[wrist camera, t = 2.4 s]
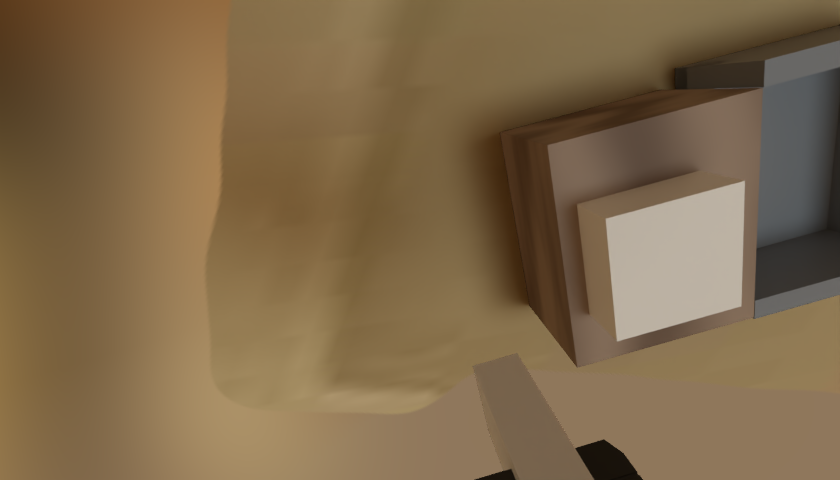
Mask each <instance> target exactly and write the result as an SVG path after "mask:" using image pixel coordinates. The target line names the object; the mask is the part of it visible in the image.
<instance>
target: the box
mask: <svg viewBox="0 0 840 480" xmlns="http://www.w3.org/2000/svg"><path fill="white" fill-rule="evenodd" d="M675 84H676V90H686V89H733V88H763V97H762V122H761V147H760V172H759V197H758V222H757V247H756V273H755V298H754V317H753V318H754V319H756V318H759V317H763V316H766V315H770V314H773V313H777V312H780V311H784V310H787V309H791V308H794V307H798V306H801V305H805V304H808V303H812V302H815V301H819V300H822V299H826V298H830V297H833V296H837V295H840V25H838V26H834V27H830V28H827V29H823V30H819V31H815V32H811V33H808V34H804V35H800V36H796V37H792V38H789V39H785V40H781V41H777V42H773V43H770V44H766V45H762V46H758V47H754V48H751V49H747V50H743V51H739V52H735V53H732V54H728V55H724V56H720V57H716V58H713V59H709V60H705V61H701V62H697V63H694V64H690V65H686V66H682V67H678V68H675Z"/></svg>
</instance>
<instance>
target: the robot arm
mask: <svg viewBox="0 0 840 480" xmlns="http://www.w3.org/2000/svg"><path fill="white" fill-rule="evenodd" d="M473 369H474V373H475V377H476V381H477V386H478V390H479V394H480V398H481V401H482V406H483V411H484V415H485V419H486V423H487V427H488V431H489V434H490V436H491V439H492V442H493V444H494V447H495V450H496V452H497V455H498V457H499V460H500V463H501V465H502V468H503V471H502V472H499V473H495V474H492V475H489V476H485V477H482V478H479V479H476V480H643V479H642V478H641V477H640V476H639V475H638V474H637V471H636V470H635V468H634V467H633V466H632V464H631V463H630V462H629V460H628V459H627V458H626V456H625V455H624V453H622V452H621V451H620V450H618V449H617V448H615V447H614V446H613V445H611V444H610V443H608V442H607V441H605V440H601V441H597V442H594V443H591V444H587V445H584V446H581V447H577V448H574V446H573V444H572V443H571V441H570V439H569V438H568V436H567V434H566V433H565V431H564V429H563V428H562V426H561V424H560V423H559V421H558V419H557V418H556V416H555V415H554V413H553V411H552V410H551V408H550V406H549V405H548V403H547V401H546V400H545V398H544V396H543V395H542V394H541V391H540V390H539V388H538V387H537V385H536V383H535V382H534V380H533V378H532V377H531V375H530V373H529V372H528V370H527V368H526V367H525V365H524V364H523V362H522V360H521V359H520V357H519V355H518V354H517V353H516V354H513V355H509V356H506V357H502V358H499V359H495V360H492V361H488V362H485V363H481V364H478V365H475V366H473Z"/></svg>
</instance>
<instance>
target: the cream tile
mask: <svg viewBox="0 0 840 480" xmlns="http://www.w3.org/2000/svg"><path fill="white" fill-rule="evenodd" d="M744 197H745V181H744V180H739V179H735V178H730V177H726V176H721V175H717V174H713V173H708V172H704V171H696V172H693V173H689V174H685V175H682V176H678V177H674V178H671V179H667V180H663V181H660V182H656V183H652V184H649V185H645V186H641V187H638V188H634V189H630V190H627V191H623V192H619V193H615V194H612V195H608V196H604V197H601V198H597V199H593V200H590V201H586V202H582V203H579V204H577V210H578V219H579V228H580V236H581V245H582V253H583V262H584V271H585V279H586V288H587V296H588V305H589V314H590V316H591V317H592V318H594V319H595V320H596V321H597V322H598V323H599V324H600V325H601V326H602V327H603V328H604V329H605V330H606V331H607V332H608V333H609V334H610V335H611V336H612V337H613V338H614V339H615V340H616V341H621V340H624V339H628V338H631V337H635V336H638V335H642V334H645V333H649V332H652V331H656V330H660V329H663V328H667V327H670V326H674V325H677V324H681V323H684V322H688V321H691V320H695V319H698V318H702V317H705V316H709V315H712V314H716V313H719V312H723V311H727V310H730V309H734V308H737V307H741V304H742V268H743V232H744Z"/></svg>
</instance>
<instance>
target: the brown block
mask: <svg viewBox="0 0 840 480" xmlns="http://www.w3.org/2000/svg"><path fill="white" fill-rule="evenodd" d="M762 97H763V88H733V89H686V90H658V91H654V92H651V93H647V94H643V95H639V96H635V97H632V98H628V99H624V100H620V101H617V102H613V103H609V104H605V105H601V106H598V107H594V108H590V109H586V110H583V111H579V112H575V113H571V114H567V115H564V116H560V117H556V118H552V119H549V120H545V121H541V122H537V123H533V124H530V125H526V126H522V127H518V128H515V129H511V130H507V131H503V132H500V136H501V142H502V148H503V154H504V159H505V165H506V171H507V177H508V183H509V188H510V194H511V200H512V206H513V212H514V218H515V223H516V229H517V235H518V241H519V247H520V252H521V258H522V264H523V270H524V276H525V282H526V287H527V293H528V299H529V305H530V307H531V308H532V310H533V311H534V312H535V314H536V315H537V316H538V317H539V319H540V320H541V321H542V323H543V324H544V325H545V326H546V328H547V329H548V330H549V332H550V333H551V334H552V335H553V337H554V338H555V339H556V341H557V342H558V343H559V345H560V346H561V347H562V348H563V350H564V351H565V352H566V354H567V355H568V356H569V357H570V359H571V360H572V361H573V363H574V364H575V365H576V366H577V367H581V366H585V365H588V364H592V363H595V362H599V361H602V360H606V359H609V358H613V357H616V356H620V355H623V354H627V353H630V352H634V351H637V350H641V349H644V348H648V347H651V346H655V345H658V344H662V343H665V342H669V341H672V340H676V339H679V338H683V337H686V336H690V335H693V334H697V333H700V332H704V331H707V330H711V329H715V328H718V327H722V326H725V325H729V324H732V323H736V322H739V321H743V320H746V319H750V318H753V317H754V298H755V273H756V247H757V222H758V197H759V172H760V147H761V122H762ZM696 171H704V172H708V173H713V174H717V175H721V176H726V177H730V178H735V179H739V180H744V181H745V197H744V232H743V268H742V304H741V307H737V308H734V309H730V310H727V311H723V312H719V313H716V314H712V315H709V316H705V317H702V318H698V319H695V320H691V321H688V322H684V323H681V324H677V325H674V326H670V327H667V328H663V329H660V330H656V331H652V332H649V333H645V334H642V335H638V336H635V337H631V338H628V339H624V340H621V341H616V340H615V339H614V338H613V337H612V336H611V335H610V334H609V333H608V332H607V331H606V330H605V329H604V328H603V327H602V326H601V325H600V324H599V323H598V322H597V321H596V320H595V319H594V318H592V317H591V316H590V314H589V305H588V296H587V288H586V279H585V271H584V262H583V253H582V245H581V236H580V228H579V219H578V210H577V204H579V203H582V202H586V201H590V200H593V199H597V198H601V197H604V196H608V195H612V194H615V193H619V192H623V191H627V190H630V189H634V188H638V187H641V186H645V185H649V184H652V183H656V182H660V181H663V180H667V179H671V178H674V177H678V176H682V175H685V174H689V173H693V172H696Z"/></svg>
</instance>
